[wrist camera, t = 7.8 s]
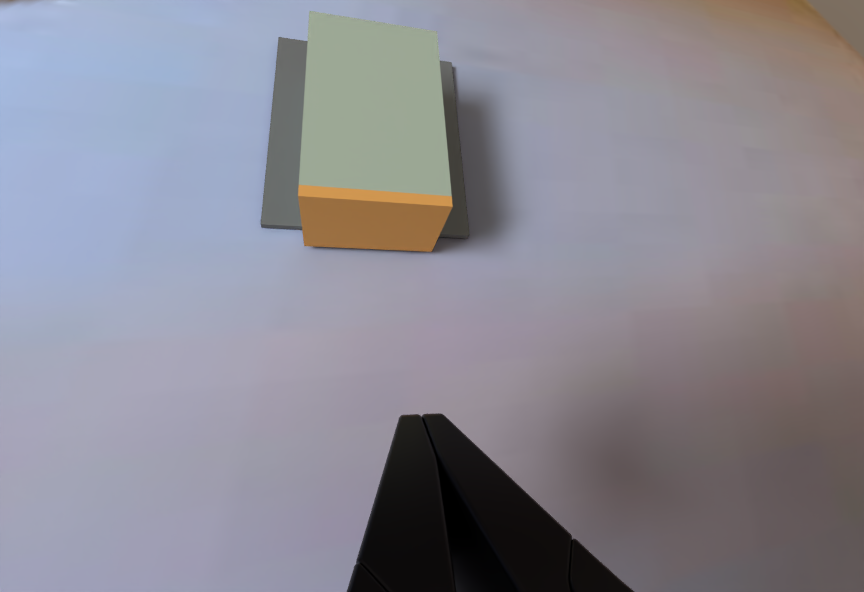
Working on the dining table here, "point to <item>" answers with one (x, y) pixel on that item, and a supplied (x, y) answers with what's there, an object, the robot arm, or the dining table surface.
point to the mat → (288, 135)
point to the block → (372, 137)
